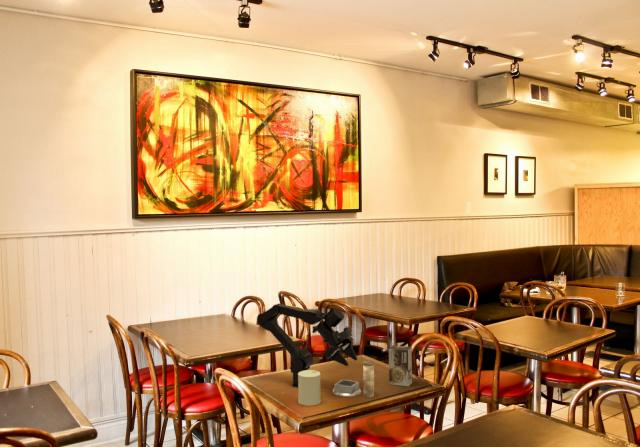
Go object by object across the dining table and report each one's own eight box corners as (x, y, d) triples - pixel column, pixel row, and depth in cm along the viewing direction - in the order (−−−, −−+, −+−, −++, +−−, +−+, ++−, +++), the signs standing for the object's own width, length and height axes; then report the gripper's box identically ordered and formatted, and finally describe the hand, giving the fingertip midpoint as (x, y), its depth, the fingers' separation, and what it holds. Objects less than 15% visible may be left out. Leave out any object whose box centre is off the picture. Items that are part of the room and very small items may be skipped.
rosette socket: (327, 394, 229) (327, 385, 229) (339, 385, 240) (339, 377, 240) (354, 398, 224) (354, 389, 224) (365, 389, 234) (365, 381, 234)
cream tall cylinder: (361, 396, 226) (361, 362, 226) (365, 393, 230) (365, 360, 230) (371, 398, 224) (371, 364, 224) (375, 394, 228) (375, 361, 228)
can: (325, 401, 221) (325, 371, 221) (310, 407, 214) (309, 377, 214) (308, 396, 227) (308, 367, 227) (293, 402, 220) (293, 372, 220)
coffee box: (412, 382, 244) (412, 346, 243) (408, 387, 238) (408, 350, 237) (392, 380, 247) (392, 344, 247) (388, 384, 242) (388, 348, 241)
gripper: (330, 326, 224) (355, 356, 219) (349, 318, 240) (372, 345, 236) (313, 343, 228) (338, 373, 223) (333, 334, 244) (356, 361, 240)
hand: (352, 362), depth 230 cm, fingers open, 9 cm apart
